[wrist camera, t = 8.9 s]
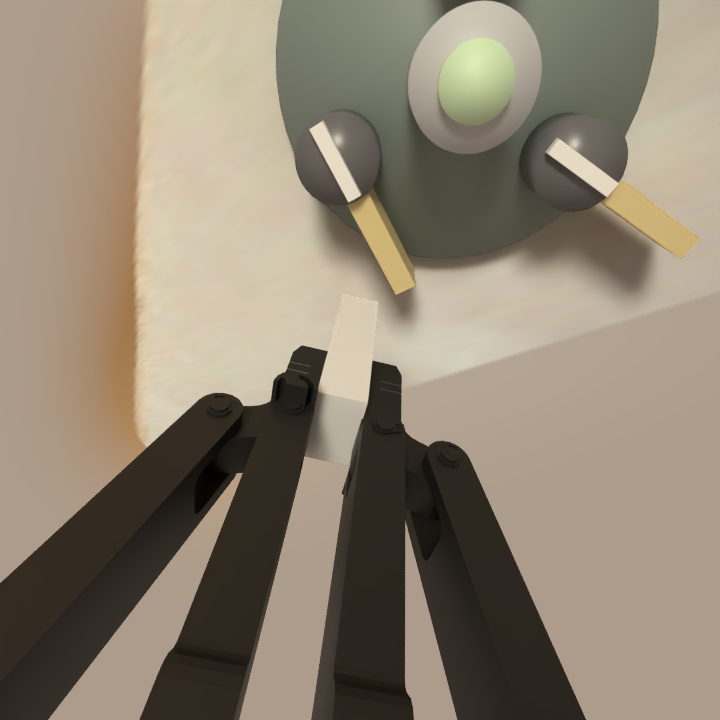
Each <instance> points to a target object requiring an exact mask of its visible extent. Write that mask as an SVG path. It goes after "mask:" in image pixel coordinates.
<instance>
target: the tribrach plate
mask: <svg viewBox="0 0 720 720" xmlns="http://www.w3.org/2000/svg"><path fill="white" fill-rule="evenodd" d="M658 6H659V0H283V1H282V6H281V11H280V16H279V21H278V33H277V44H276V75H277V86H278V94H279V101H280V108H281V112H282V116H283V120H284V124H285V128H286V132H287V135H288V137H289V140H290V143H291V145H292V148H293V151H294V153H295V152H296V146H297V143H298V140H299V138H300V136H301V134H302V132H303V131H304V130H305V128H306V127H307V126H308V125H309V124H310V123H311V122H313V121H314V120H316V119H318V118H319V117H321V116H323V115H325V114H327V113H329V112H331V111H334V110H340V109H346V110H351V111H355V112H357V113H359V114H361V115H363V116H364V117H365V118H367V119H368V120H369V121H370V122H371V124H372V125H373V126H374V128H375V130H376V131H377V134H378V136H379V139H380V143H381V160H380V165H379V170H378V174H377V177H376V180H375V182H374V184H373V188H374V190H375V192H376V194H377V196H378V198H379V200H380V202H381V204H382V206H383V208H384V210H385V212H386V214H387V216H388V218H389V220H390V222H391V224H392V226H393V228H394V230H395V232H396V234H397V236H398V237H399V239H400V241H401V243H402V245H403V247H404V249H405V251H406V253H407V254H410V255H415V256H419V257H430V258H460V257H467V256H473V255H479V254H483V253H486V252H490V251H494V250H497V249H500V248H503V247H505V246H507V245H510V244H512V243H515V242H517V241H520V240H521V239H523V238H525V237H527V236H529V235H531V234H532V233H534V232H536V231H538V230H539V229H541V228H542V227H544V226H545V225H547V224H548V223H550V222H551V221H552V220H554V219H555V218H557V217H558V216H559V215H560V214H562V213H563V212H564V211H561V210H558V209H555V208H553V207H551V206H550V205H548V204H547V203H546V202H545V201H544V200H542V199H541V198H540V197H539V196H538V195H537V194H536V193H534V192H533V191H532V190H531V189H530V188H529V187H528V186H527V185H526V184H525V182H524V180H523V178H522V176H521V172H520V155H521V151H522V148H523V145H524V143H525V141H526V139H527V138H528V136H529V135H530V133H531V132H532V131H533V130H534V129H535V128H536V127H537V126H538V125H539V124H540V123H541V122H543V121H544V120H546V119H547V118H549V117H552V116H554V115H557V114H561V113H577V114H582V115H586V116H591V117H596V118H600V119H604V120H607V121H609V122H611V123H613V124H614V125H616V126H617V127H618V128H619V129H620V131H621V132H622V133H623V135H624V137H625V135H626V133H627V131H628V129H629V127H630V125H631V123H632V120H633V118H634V116H635V114H636V112H637V110H638V107H639V104H640V101H641V99H642V96H643V93H644V90H645V87H646V85H647V81H648V77H649V73H650V69H651V65H652V61H653V57H654V51H655V44H656V36H657V29H658ZM327 205H328V206H329V208H330V209H331V210H332V211H333V212H334V213H335V214H336V215H337V216H339V217H340V218H341V219H342V220H343V221H344V222H345V223H346V224H347V225H349V226H350V227H352V228H353V229H354V230H356V231H357V232H359V233H360V234H362V235H363V233H362V231H361V229H360V228H359V226H358V224H357V222H356V220H355V218H354V216H353V215H352V213H351V211H350V209H349V207H348V205H341V206H336V205H330V204H327ZM363 236H364V235H363Z"/></svg>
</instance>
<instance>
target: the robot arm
mask: <svg viewBox="0 0 720 720" xmlns="http://www.w3.org/2000/svg"><path fill="white" fill-rule="evenodd" d="M378 305H379V302H377V301H373V300H369V299H365V298H360V297H356V296H352V295H348V294H343V297H342V300H341V304H340V308H339V312H338V315H337V319H336V323H335V327H334V330H333V334H332V338H331V342H330V345H329V349H328V351H324V350H319V349H315V348H311V347H306V346H301V347H299V348H298V349H297V350H295V351H294V352H293V354H292V357H291V359H290V362H289V365H288V367H287V370H286V372H284V373H282V374H280V375H278V376H277V377H276V378H275V379H274V382H273V389H272V397H271V401H270V402H268V403H266V404H263V405H259V406H243V404H242V403H241V402H240V400H239V399H238V398H236V397H234V396H233V395H229V394H225V393H213V394H209V395H206V396H204V397H203V398H201V399H199V400H198V401H197V402H196V403H195V404H194V405H193V406H192V407H191V408H190V409H189V410H187V411H186V412H185V413H184V414H183V415H182V416H181V417H180V418H179V419H178V420H177V421H176V422H174V423H173V424H172V425H171V426H170V427H169V428H168V429H167V430H166V431H165V432H164V433H163V434H161V435H160V436H159V437H158V438H157V439H156V440H155V441H154V442H153V443H152V444H151V445H150V446H148V447H147V448H146V449H145V450H144V451H143V452H142V453H141V454H140V455H139V456H138V457H137V458H136V459H134V460H133V461H132V462H131V463H130V464H129V465H128V466H127V467H126V468H125V469H124V470H122V472H121V473H119V474H118V475H117V476H116V477H115V478H114V479H113V480H112V481H111V482H109V483H108V485H106V486H105V487H104V488H103V489H102V490H101V491H100V492H99V493H98V494H96V495H95V496H94V497H93V498H92V499H91V500H90V501H89V502H88V503H87V504H86V505H85V506H84V507H82V508H81V509H80V510H79V511H78V512H77V513H76V514H75V515H74V516H73V517H72V518H71V519H69V520H68V521H67V522H66V523H65V524H64V525H63V526H62V527H61V528H60V529H59V530H58V531H56V532H55V533H54V534H53V535H52V536H51V537H50V538H49V539H48V540H47V541H46V542H44V544H42V545H41V546H40V547H39V548H38V549H37V550H36V551H35V552H34V553H33V554H32V555H30V556H29V557H28V558H27V559H26V560H25V561H24V562H23V563H22V564H21V565H20V566H18V567H17V568H16V569H15V570H14V571H13V572H12V573H11V574H10V575H9V576H8V577H7V578H6V579H4V580H3V581H2V582H1V583H0V720H48V719H49V718H50V716H51V715H52V714H53V712H54V711H55V710H56V709H57V707H58V706H59V704H60V703H61V702H62V701H63V699H64V698H65V697H66V696H67V694H68V693H69V692H70V690H71V689H72V688H73V686H74V685H75V684H76V682H77V681H78V680H79V679H80V677H81V676H82V675H83V674H84V672H85V671H86V670H87V668H88V667H89V666H90V664H91V663H92V662H93V661H94V659H95V658H96V657H97V655H98V654H99V653H100V651H101V650H102V649H103V648H104V646H105V645H106V644H107V642H108V641H109V640H110V638H111V637H112V636H113V634H114V633H115V632H116V631H117V629H118V628H119V627H120V625H121V624H122V623H123V622H124V620H125V619H126V618H127V616H128V615H129V614H130V613H131V611H132V610H133V609H134V607H135V606H136V605H137V603H138V602H139V601H140V600H141V598H142V597H143V596H144V594H145V593H146V592H147V590H148V589H149V588H150V587H151V585H152V584H153V583H154V581H155V580H156V579H157V577H158V576H159V575H160V574H161V572H162V571H163V570H164V568H165V567H166V566H167V564H168V563H169V562H170V560H171V559H172V558H173V557H174V555H175V554H176V553H177V551H178V550H179V549H180V548H181V546H182V545H183V544H184V542H185V541H186V540H187V538H188V537H189V536H190V535H191V533H192V532H193V531H194V529H195V528H196V527H197V525H198V524H199V523H200V522H201V520H202V519H203V518H204V516H205V515H206V514H207V513H208V511H209V510H210V509H211V507H212V506H213V505H214V503H215V502H216V501H217V500H218V498H219V497H220V495H221V494H222V493H223V492H224V490H225V489H226V488H227V487H228V485H229V484H230V482H231V481H232V480H233V479H234V477H235V475H236V473H243V474H242V477H241V479H240V482H239V485H238V487H237V490H236V492H235V495H234V497H233V500H232V502H231V505H230V508H229V510H228V513H227V515H226V518H225V521H224V523H223V526H222V528H221V531H220V533H219V536H218V538H217V541H216V544H215V546H214V549H213V551H212V554H211V557H210V559H209V561H208V564H207V567H206V569H205V572H204V574H203V577H202V579H201V582H200V584H199V587H198V590H197V592H196V595H195V597H194V600H193V602H192V605H191V608H190V610H189V613H188V615H187V618H186V621H185V623H184V626H183V628H182V631H181V633H180V636H179V638H178V641H177V643H176V644H175V646H174V648H173V649H172V650H171V651H170V652H169V653H168V655H167V656H166V658H165V660H164V662H163V664H162V666H161V668H160V671H159V673H158V675H157V677H156V680H155V682H154V685H153V688H152V690H151V692H150V695H149V697H148V700H147V702H146V705H145V707H144V710H143V712H142V715H141V717H140V720H239V718H240V713H241V709H242V705H243V701H244V697H245V693H246V689H247V685H248V681H249V677H250V673H251V669H252V665H253V661H254V657H255V653H256V649H257V645H258V641H259V637H260V633H261V629H262V625H263V621H264V617H265V613H266V609H267V605H268V601H269V597H270V593H271V589H272V585H273V581H274V577H275V573H276V569H277V565H278V561H279V557H280V553H281V549H282V545H283V541H284V537H285V533H286V529H287V525H288V521H289V517H290V513H291V509H292V505H293V501H294V497H295V493H296V489H297V485H298V481H299V477H300V473H301V469H302V464H303V460H304V456H306V457H310V458H315V459H320V460H324V461H329V462H333V463H338V464H342V465H347V466H349V464H350V468H349V471H348V475H347V478H346V482H345V485H344V489H343V491H342V494H343V495H344V498H343V505H342V513H341V519H340V526H339V533H338V539H337V547H336V554H335V560H334V567H333V574H332V581H331V588H330V595H329V602H328V609H327V615H326V623H325V630H324V636H323V644H322V650H321V657H320V664H319V671H318V678H317V685H316V692H315V698H314V706H313V712H312V719H311V720H414V717H413V706H412V702H411V698H410V697H409V695H408V694H407V692H406V688H405V520H406V524H407V527H408V532H409V535H410V539H411V543H412V547H413V551H414V555H415V558H416V562H417V566H418V570H419V574H420V578H421V581H422V585H423V589H424V593H425V597H426V600H427V604H428V608H429V612H430V616H431V620H432V624H433V627H434V631H435V635H436V639H437V643H438V646H439V650H440V654H441V658H442V662H443V666H444V670H445V674H446V677H447V681H448V685H449V689H450V693H451V696H452V700H453V704H454V708H455V712H456V716H457V720H586V719H585V716H584V714H583V712H582V710H581V707H580V705H579V703H578V701H577V698H576V696H575V694H574V692H573V690H572V687H571V685H570V683H569V681H568V678H567V676H566V674H565V672H564V670H563V667H562V665H561V663H560V660H559V658H558V656H557V654H556V651H555V650H554V647H553V645H552V642H551V640H550V638H549V636H548V633H547V631H546V629H545V627H544V625H543V622H542V620H541V618H540V616H539V613H538V611H537V609H536V607H535V604H534V602H533V600H532V598H531V595H530V593H529V591H528V589H527V586H526V584H525V582H524V580H523V577H522V576H521V573H520V571H519V569H518V566H517V564H516V562H515V560H514V557H513V555H512V553H511V551H510V548H509V546H508V544H507V542H506V539H505V537H504V535H503V533H502V530H501V528H500V526H499V524H498V521H497V519H496V517H495V515H494V512H493V511H492V508H491V506H490V504H489V501H488V499H487V497H486V495H485V492H484V490H483V488H482V486H481V483H480V481H479V479H478V477H477V474H476V472H475V470H474V468H473V465H472V463H471V461H470V459H469V457H468V456H467V454H466V453H465V452H464V451H463V450H462V449H461V448H460V447H459V446H457V445H455V444H453V443H450V442H446V441H437V442H434V443H432V444H431V445H430V446H429V447H428V446H426V445H424V444H422V443H420V442H418V441H416V440H415V439H413V438H411V437H410V436H409V435H408V434H407V433H406V432H405V428H404V425H403V424H402V422H401V382H402V376H401V374H400V372H399V370H398V369H397V367H396V366H393V365H389V364H384V363H380V362H376V361H372V360H373V350H374V341H375V332H376V323H377V314H378Z"/></svg>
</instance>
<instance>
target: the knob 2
mask: <svg viewBox="0 0 720 720" xmlns="http://www.w3.org/2000/svg"><path fill="white" fill-rule="evenodd" d="M627 159H628V148H627V143H626V140H625V137H624V135H623V133H622V132H621V131H620V129H619V128H618V127H617V126H616V125H614V124H613V123H611V122H609V121H607V120H604V119H600V118H596V117H591V116H586V115H582V114H577V113H561V114H557V115H554V116H552V117H549V118H547V119H546V120H544V121H543V122H541V123H540V124H539V125H538V126H537V127H536V128H535V129H534V130H533V131H532V132H531V133H530V135H529V136H528V138H527V139H526V141H525V143H524V145H523V148H522V151H521V155H520V172H521V176H522V178H523V180H524V182H525V184H526V185H527V186H528V187H529V188H530V189H531V190H532V191H533V192H534V193H536V194H537V195H538V196H539V197H540V198H541V199H542V200H544V201H545V202H546V203H547V204H548V205H550V206H551V207H553V208H555V209H558V210H561V211H567V212H574V211H581V210H584V209H587V208H590V207H592V206H594V205H596V204H598V203H599V202H600V203H601V204H603V205H604V206H606V207H607V208H608V209H610V210H611V211H612V212H614V213H615V214H617V215H618V216H619V217H621V218H622V219H623V220H625V221H626V222H628V223H629V224H630V225H632V226H633V227H634V228H636V229H637V230H639V231H640V232H641V233H643V234H644V235H645V236H647V237H648V238H650V239H651V240H652V241H654V242H655V243H657V244H658V245H660V246H661V247H663V248H664V249H666V250H667V251H669V252H670V253H672V254H673V255H675V256H676V257H678V258H680V259H681V258H682V257H683V256H684V255H685V254H686V253H687V252H688V251H689V250H690V249H691V248H692V247H693V246H694V245H696V244H697V243H698V242H699V241H700V240H701V239H700V238H699V237H698V236H696V235H695V234H694V233H692V232H691V231H690V230H688V229H687V228H686V227H684V226H683V225H682V224H680V223H679V222H678V221H676V220H675V219H674V218H672V217H671V216H670V215H668V214H667V213H666V212H664V211H663V210H662V209H661V208H659V207H658V206H657V205H655V204H654V203H653V202H651V201H650V200H649V199H647V198H646V197H645V196H643V195H642V194H641V193H639V192H638V191H637V190H635V189H634V188H633V187H631V186H630V185H629V184H627V183H626V182H625V181H623V180H622V179H621V178H622V176H623V174H624V171H625V168H626V165H627Z"/></svg>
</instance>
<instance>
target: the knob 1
mask: <svg viewBox="0 0 720 720" xmlns="http://www.w3.org/2000/svg"><path fill="white" fill-rule="evenodd" d="M380 160H381V143H380V139H379V136H378V134H377V131H376V130H375V128H374V126H373V125H372V124H371V122H370V121H369V120H368V119H367V118H365V117H364V116H363V115H361V114H359V113H357V112H355V111H351V110H346V109H340V110H334V111H331V112H329V113H327V114H325V115H323V116H321V117H319V118H318V119H316V120H314V121H313V122H311V123H310V124H309V125H308V126H307V127H306V128H305V130H304V131H303V132H302V134H301V136H300V138H299V140H298V143H297V146H296V152H295V164H296V170H297V173H298V176H299V179H300V181H301V183H302V184H303V186H304V187H305V189H306V190H307V191H308V192H309V193H310V194H311V195H312V196H313V197H315V198H316V199H318V200H319V201H321V202H324V203H326V204H330V205H336V206H341V205H348V207H349V209H350V211H351V213H352V215H353V216H354V218H355V220H356V222H357V224H358V226H359V228H360V229H361V231H362V233H363V235H364V237H365V239H366V241H367V242H368V244H369V246H370V248H371V250H372V252H373V253H374V255H375V257H376V259H377V261H378V263H379V265H380V266H381V268H382V270H383V272H384V274H385V276H386V277H387V279H388V281H389V283H390V285H391V287H392V289H393V290H394V292H395V294H396V295H397V294H399V293H401V292H403V291H406V290H408V289H410V288H412V287H414V286H416V285H415V273H414V267H413V265H412V263H411V261H410V259H409V257H408V255H407V253H406V251H405V249H404V247H403V245H402V243H401V241H400V239H399V237H398V236H397V234H396V232H395V230H394V228H393V226H392V224H391V222H390V220H389V218H388V216H387V214H386V212H385V210H384V208H383V206H382V204H381V202H380V200H379V198H378V196H377V194H376V192H375V190H374V188H373V184H374V182H375V180H376V177H377V174H378V170H379V165H380Z"/></svg>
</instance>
